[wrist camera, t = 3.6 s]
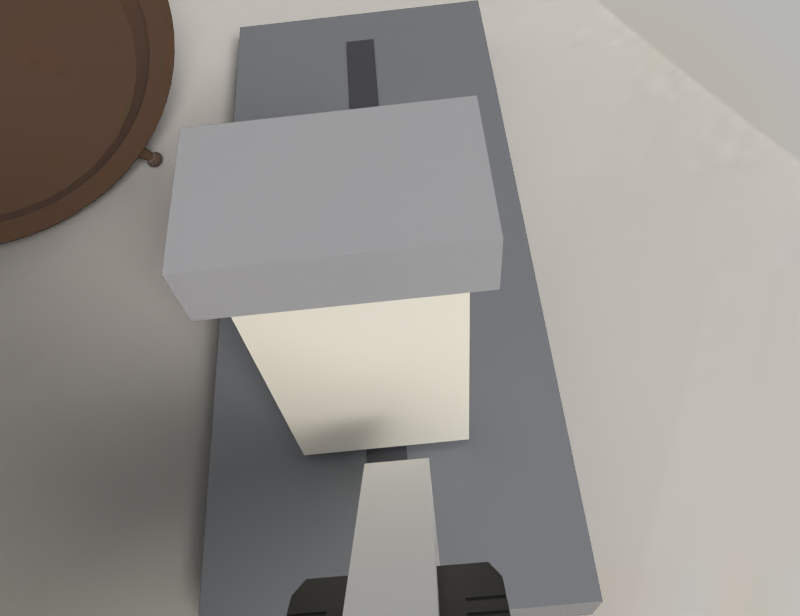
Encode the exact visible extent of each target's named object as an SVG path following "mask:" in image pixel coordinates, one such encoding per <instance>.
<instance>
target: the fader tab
mask: <svg viewBox="0 0 800 616" xmlns="http://www.w3.org/2000/svg"><path fill="white" fill-rule="evenodd" d="M502 251H503V234H502V228H501V223H500V218H499V212H498V207H497V202H496V196H495V191H494V185H493V180H492V175H491V169H490V164H489V158H488V153H487V148H486V142H485V137H484V132H483V126H482V121H481V115H480V110H479V105H478V99H477V95H476V96H467V97H458V98H449V99H440V100H431V101H422V102H413V103H404V104H395V105H386V106H377V107H368V108H358V109H349V110H340V111H331V112H322V113H313V114H304V115H295V116H286V117H277V118H268V119H259V120H250V121H241V122H232V123H223V124H214V125H204V126H195V127H186V128H180V131H179V139H178V147H177V155H176V163H175V171H174V179H173V187H172V195H171V203H170V211H169V219H168V227H167V235H166V243H165V251H164V259H163V266H162V276H163V278H164V279H165V281H166V282H167V284H168V286H169V287H170V289H171V290H172V292H173V294H174V295H175V297H176V298H177V300H178V302H179V303H180V305H181V306H182V308H183V310H184V311H185V313H186V314H187V316H188V318H189V319H190V321H198V320H208V319H218V318H227V317H231V318H232V320H233V322H234V324H235V326H236V328H237V329H238V331H239V333H240V335H241V337H242V339H243V341H244V343H245V345H246V346H247V348H248V350H249V352H250V354H251V356H252V358H253V360H254V362H255V364H256V365H257V367H258V369H259V371H260V373H261V375H262V377H263V379H264V381H265V382H266V384H267V386H268V388H269V390H270V392H271V394H272V396H273V398H274V399H275V401H276V403H277V405H278V407H279V409H280V411H281V413H282V415H283V416H284V418H285V420H286V422H287V424H288V426H289V428H290V430H291V432H292V433H293V435H294V437H295V439H296V441H297V443H298V445H299V447H300V449H301V450H302V452H303V454H304V455H313V454H323V453H333V452H344V451H354V450H364V449H375V448H385V447H395V446H405V445H416V444H426V443H436V442H447V441H457V440H467V439H469V353H470V292H480V291H490V290H499V289H500V280H501V266H502Z"/></svg>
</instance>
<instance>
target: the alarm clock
mask: <svg viewBox="0 0 800 616" xmlns="http://www.w3.org/2000/svg"><path fill="white" fill-rule="evenodd" d="M174 52H175V49H174V30H173V22H172V15H171V11H170V7H169V2H168V0H0V244H1V243H6V242H10V241H13V240H16V239H19V238H23V237H26V236H29V235H31V234H34V233H37V232H39V231H42V230H44V229H46V228H49V227H51V226H53V225H55V224H57V223H59V222H61V221H63V220H65V219H67V218H68V217H70V216H72V215H74V214H76V213H77V212H79V211H80V210H82V209H83V208H85V207H86V206H88V205H89V204H91V203H92V202H93V201H95V200H96V199H97V198H98V197H100V196H101V195H102V194H104V193H105V192H106V191H107V190H108V189H109V188H110V187H111V186H113V185H114V184H115V183H116V182H117V181H118V180H119V179H120V178H121V177H122V176H123V174H124V173H125V172H126V171H127V170H128V169H129V168H130V167H131V165H132V164H133V163H134V162H135V160H136V159H137V158H141V159H145V160H147V161H148V163H149V165H150V166H153V167H157V166H159V165H160V164H161V162H162V156H161V154H160V153H158V152H153V153H152V152H150V151H149V150H148V149H147V148H145V146H146V145H147V143H148V141H149V139H150V138H151V136H152V134H153V132H154V131H155V129H156V126H157V124H158V122H159V120H160V118H161V115H162V113H163V110H164V107H165V104H166V101H167V98H168V94H169V90H170V86H171V81H172V74H173V68H174Z"/></svg>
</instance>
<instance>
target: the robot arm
mask: <svg viewBox="0 0 800 616" xmlns="http://www.w3.org/2000/svg"><path fill="white" fill-rule="evenodd" d="M287 616H511V614H510V610H509V605H508V600H507V597H506V591H505V586H504V581H503V577H502V575H501V574H500V573H499V572H498V571H497V570H496V569H495V568H494V567H493V566H492V565H491V564H490V563H489V562H479V563H467V564H455V565H443V566H440V562H439V552H438V542H437V532H436V523H435V513H434V503H433V493H432V483H431V473H430V463H429V458H422V459H410V460H399V461H388V462H377V463H366V464H364V470H363V477H362V484H361V491H360V498H359V505H358V512H357V519H356V525H355V532H354V539H353V546H352V553H351V560H350V567H349V574H348V575H347V576H335V577H323V578H311V579H306V580H305V581H304V582H303V583H302V584H301V586H300V587H299V588H298V589H297V590H296V591H295V592H294V594H293V595H292V596H291V599H290V603H289V607H288V611H287Z"/></svg>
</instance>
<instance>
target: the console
mask: <svg viewBox="0 0 800 616" xmlns="http://www.w3.org/2000/svg"><path fill="white" fill-rule="evenodd" d="M476 95H477V99H478V105H479V110H480V115H481V121H482V126H483V132H484V137H485V142H486V148H487V153H488V158H489V164H490V169H491V175H492V180H493V185H494V191H495V196H496V202H497V207H498V212H499V218H500V223H501V228H502V234H503V251H502V266H501V280H500V289H499V290H490V291H480V292H470V353H469V439H467V440H457V441H447V442H436V443H426V444H416V445H405V446H395V447H385V448H375V449H364V450H354V451H344V452H333V453H323V454H313V455H304V454H303V452H302V450H301V449H300V447H299V445H298V443H297V441H296V439H295V437H294V435H293V433H292V432H291V430H290V428H289V426H288V424H287V422H286V420H285V418H284V416H283V415H282V413H281V411H280V409H279V407H278V405H277V403H276V401H275V399H274V398H273V396H272V394H271V392H270V390H269V388H268V386H267V384H266V382H265V381H264V379H263V377H262V375H261V373H260V371H259V369H258V367H257V365H256V364H255V362H254V360H253V358H252V356H251V354H250V352H249V350H248V348H247V346H246V345H245V343H244V341H243V339H242V337H241V335H240V333H239V331H238V329H237V328H236V326H235V324H234V322H233V320H232V318H231V317H227V318H220V321H219V335H218V349H217V363H216V377H215V392H214V406H213V420H212V434H211V448H210V462H209V476H208V490H207V505H206V519H205V533H204V547H203V561H202V575H201V589H200V603H199V616H287V611H288V607H289V603H290V599H291V596H292V595H293V594H294V592H295V591H296V590H297V589H298V588H299V587H300V586H301V584H302V583H303V582H304V581H305V580H306V579H311V578H323V577H335V576H347V575H348V574H349V567H350V560H351V553H352V546H353V539H354V532H355V525H356V519H357V512H358V505H359V498H360V491H361V484H362V477H363V470H364V464H366V463H377V462H388V461H399V460H410V459H422V458H429V463H430V473H431V483H432V493H433V503H434V513H435V523H436V532H437V542H438V552H439V562H440V566H443V565H455V564H467V563H479V562H489V563H490V564H491V565H492V566H493V567H494V568H495V569H496V570H497V571H498V572H499V573H500V574H501V575H502V577H503V581H504V586H505V591H506V597H507V600H508V605H509V610H510V614H511V616H576V615H587V614H592V613H593V612H594V611H595V610H596V608H597V607H598V606H599V605H600V604H601V602H602V601H603V600H602V596H601V591H600V586H599V581H598V576H597V572H596V567H595V562H594V557H593V552H592V547H591V543H590V538H589V533H588V528H587V523H586V519H585V514H584V509H583V504H582V499H581V495H580V490H579V485H578V480H577V475H576V470H575V466H574V461H573V456H572V451H571V446H570V442H569V437H568V432H567V427H566V422H565V418H564V413H563V408H562V403H561V398H560V393H559V389H558V384H557V379H556V374H555V369H554V365H553V360H552V355H551V350H550V345H549V341H548V336H547V331H546V326H545V321H544V316H543V312H542V307H541V302H540V297H539V292H538V288H537V283H536V278H535V273H534V268H533V263H532V259H531V254H530V249H529V244H528V239H527V235H526V230H525V225H524V220H523V215H522V211H521V206H520V201H519V196H518V191H517V186H516V182H515V177H514V172H513V167H512V162H511V158H510V153H509V148H508V143H507V138H506V134H505V129H504V124H503V119H502V114H501V109H500V105H499V100H498V95H497V90H496V85H495V81H494V76H493V71H492V66H491V61H490V57H489V52H488V47H487V42H486V37H485V32H484V28H483V23H482V18H481V13H480V8H479V4H478V0H477V1H468V2H460V3H451V4H442V5H433V6H425V7H416V8H407V9H398V10H390V11H381V12H372V13H363V14H354V15H346V16H337V17H328V18H319V19H311V20H302V21H293V22H284V23H276V24H267V25H258V26H249V27H240V39H239V53H238V67H237V81H236V95H235V109H234V122H241V121H250V120H259V119H268V118H277V117H286V116H295V115H304V114H313V113H322V112H331V111H340V110H349V109H358V108H368V107H377V106H386V105H395V104H404V103H413V102H422V101H431V100H440V99H449V98H458V97H467V96H476Z"/></svg>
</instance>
